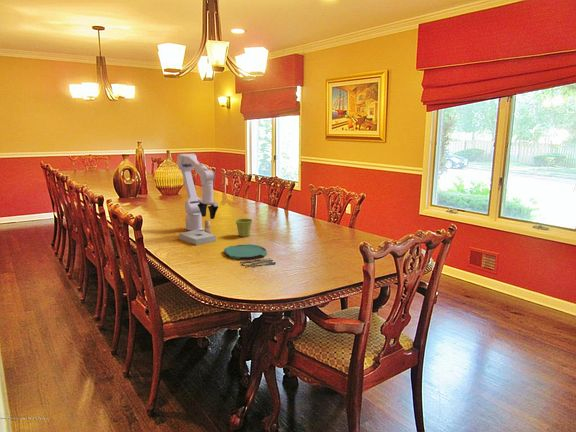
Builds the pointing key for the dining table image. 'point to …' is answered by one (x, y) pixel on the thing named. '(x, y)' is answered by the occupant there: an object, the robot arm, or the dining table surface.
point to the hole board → (197, 237)
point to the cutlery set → (247, 253)
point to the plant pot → (244, 227)
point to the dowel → (207, 226)
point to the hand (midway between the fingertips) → (208, 217)
